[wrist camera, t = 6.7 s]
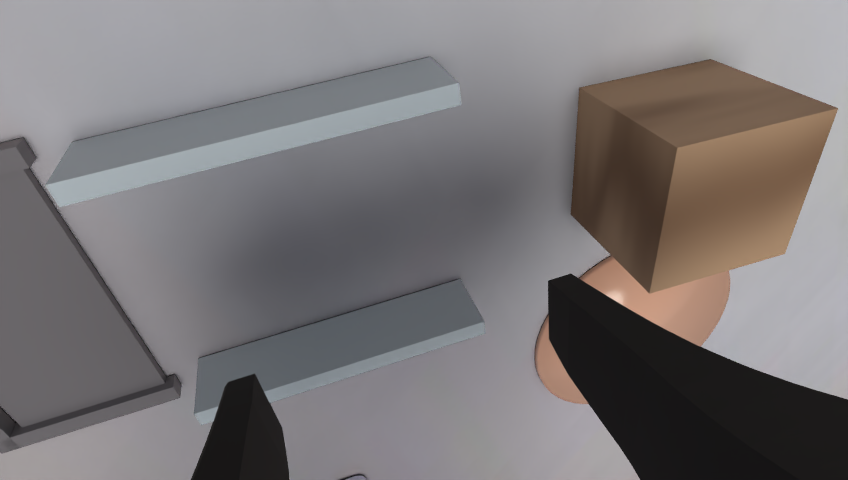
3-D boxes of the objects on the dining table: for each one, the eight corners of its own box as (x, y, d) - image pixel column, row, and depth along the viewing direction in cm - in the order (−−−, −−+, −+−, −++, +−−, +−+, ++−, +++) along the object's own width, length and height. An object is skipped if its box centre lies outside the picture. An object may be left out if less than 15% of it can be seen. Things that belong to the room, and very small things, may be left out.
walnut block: (683, 183, 21) (784, 253, 17) (569, 213, 21) (649, 293, 17) (709, 58, 19) (838, 108, 15) (578, 87, 18) (677, 147, 14)
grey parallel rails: (462, 290, 21) (485, 333, 19) (204, 369, 20) (201, 425, 18) (430, 56, 16) (459, 82, 14) (71, 141, 14) (45, 185, 12)
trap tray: (181, 385, 20) (180, 397, 19) (7, 438, 19) (1, 453, 18) (22, 137, 14) (15, 146, 13) (-241, 199, 13) (-260, 211, 12)
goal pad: (706, 363, 29) (709, 366, 29) (536, 422, 28) (539, 427, 27) (745, 210, 23) (750, 213, 23) (532, 276, 22) (535, 280, 21)
